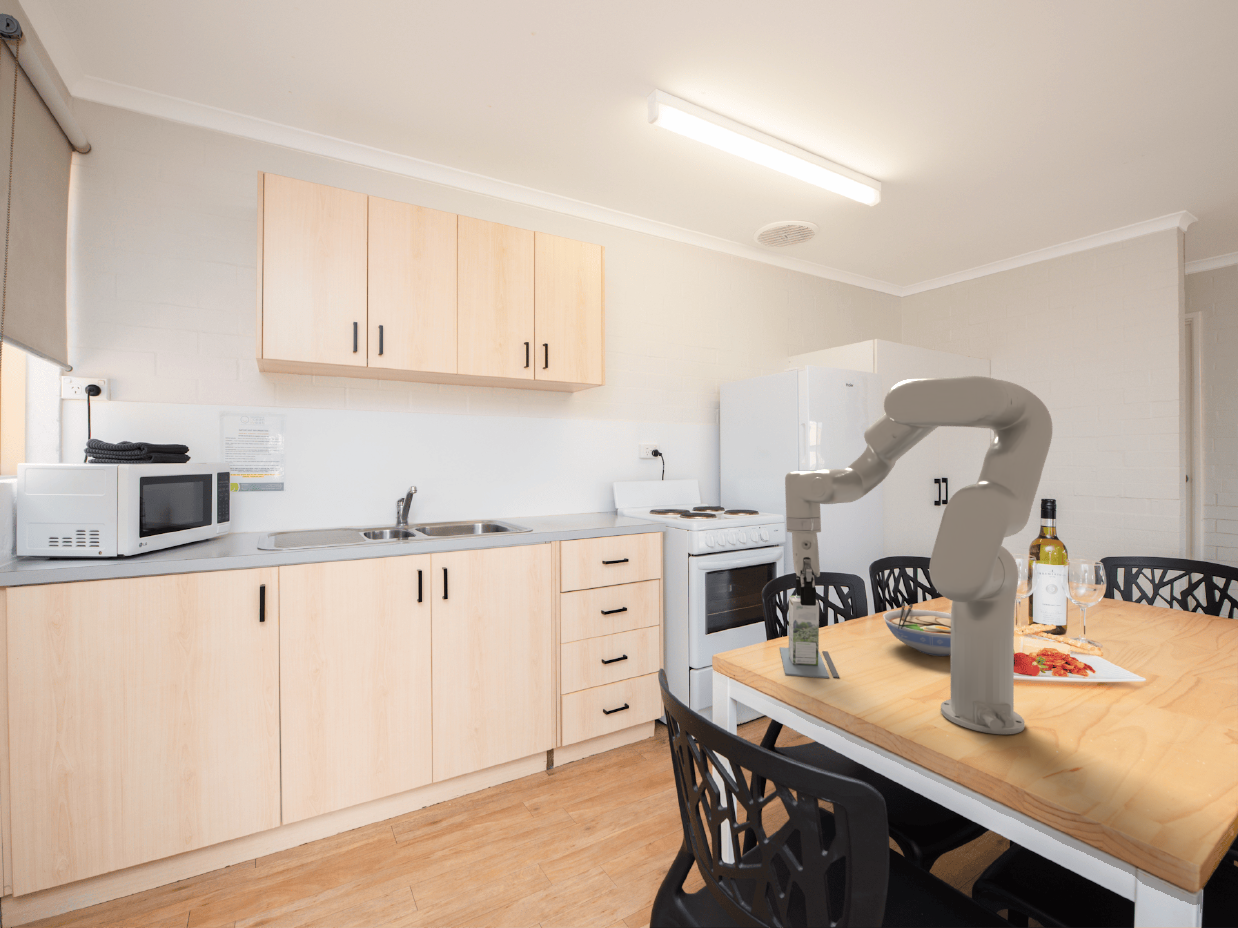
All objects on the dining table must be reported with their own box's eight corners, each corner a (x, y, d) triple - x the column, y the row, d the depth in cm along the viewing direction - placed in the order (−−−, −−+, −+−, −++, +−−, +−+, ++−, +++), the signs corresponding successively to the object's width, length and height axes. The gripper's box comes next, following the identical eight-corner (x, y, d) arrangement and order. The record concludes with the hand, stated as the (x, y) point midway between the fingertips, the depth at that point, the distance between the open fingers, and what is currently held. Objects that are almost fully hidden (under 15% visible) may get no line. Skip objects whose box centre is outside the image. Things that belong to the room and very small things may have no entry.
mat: (829, 678, 122) (829, 676, 122) (785, 674, 124) (785, 673, 124) (818, 651, 140) (818, 649, 140) (779, 648, 142) (779, 647, 142)
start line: (839, 678, 122) (839, 676, 122) (833, 677, 122) (833, 676, 122) (827, 652, 139) (827, 651, 139) (822, 652, 139) (822, 650, 139)
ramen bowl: (991, 676, 123) (991, 638, 123) (875, 657, 135) (875, 622, 135) (988, 645, 145) (988, 612, 145) (888, 631, 157) (888, 601, 157)
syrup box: (813, 657, 134) (813, 595, 134) (819, 666, 128) (819, 601, 128) (788, 656, 135) (788, 594, 135) (792, 665, 129) (792, 600, 129)
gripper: (826, 528, 123) (828, 609, 122) (815, 522, 139) (818, 593, 139) (789, 528, 124) (791, 608, 124) (783, 522, 141) (785, 592, 140)
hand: (805, 600), depth 131 cm, fingers open, 9 cm apart
